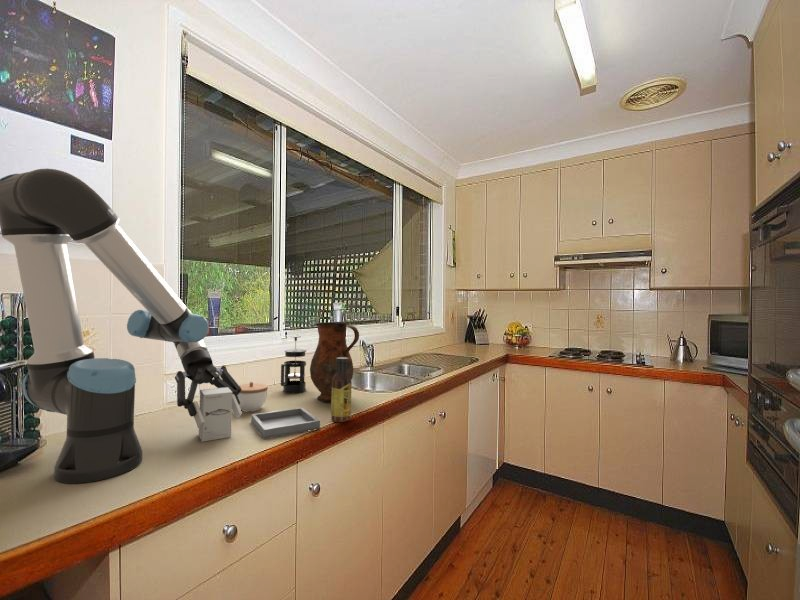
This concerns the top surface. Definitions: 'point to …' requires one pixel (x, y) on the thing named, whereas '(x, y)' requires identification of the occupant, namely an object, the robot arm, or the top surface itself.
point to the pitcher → (330, 356)
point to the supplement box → (215, 413)
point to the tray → (284, 422)
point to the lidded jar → (252, 396)
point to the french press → (294, 385)
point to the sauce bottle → (341, 392)
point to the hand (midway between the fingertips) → (221, 420)
